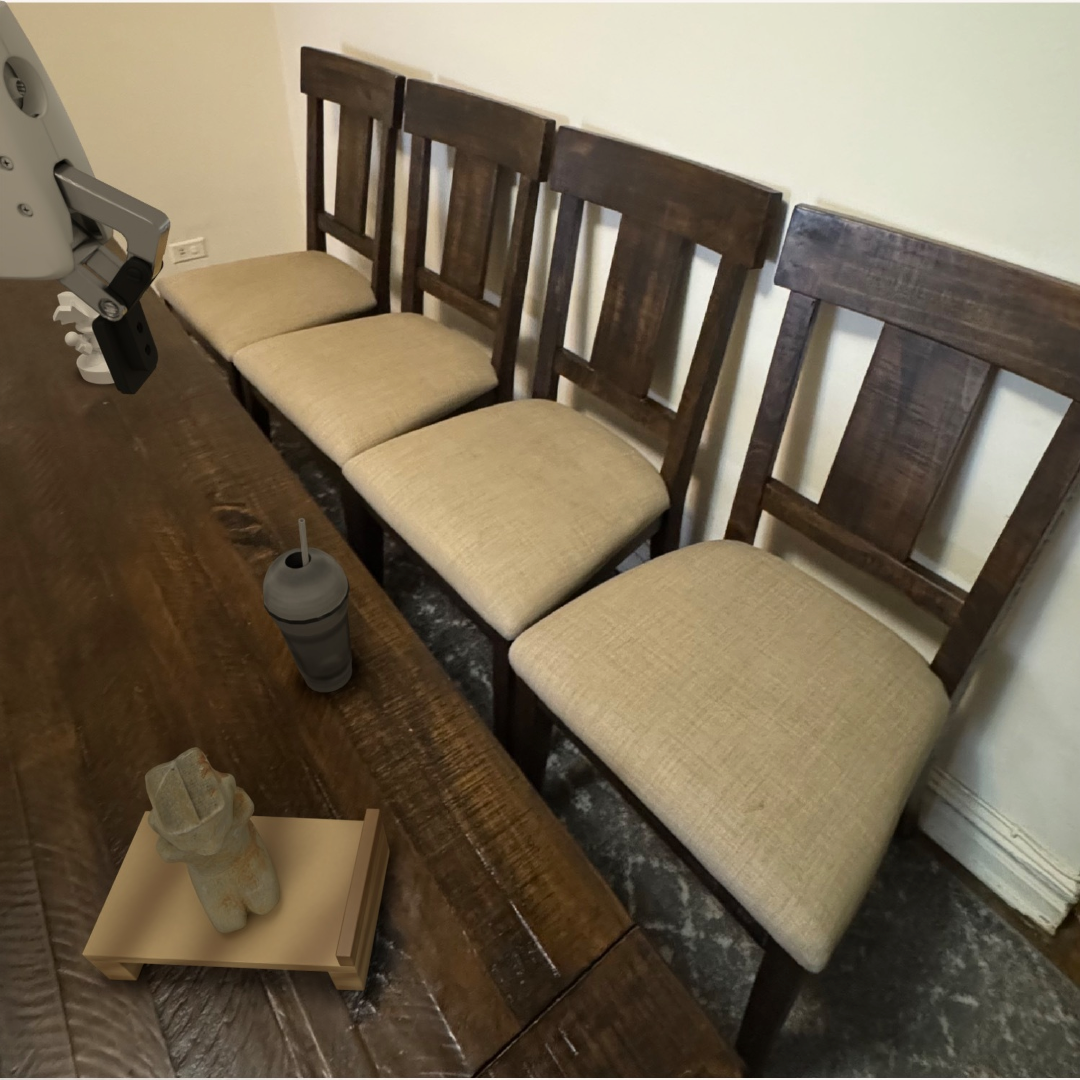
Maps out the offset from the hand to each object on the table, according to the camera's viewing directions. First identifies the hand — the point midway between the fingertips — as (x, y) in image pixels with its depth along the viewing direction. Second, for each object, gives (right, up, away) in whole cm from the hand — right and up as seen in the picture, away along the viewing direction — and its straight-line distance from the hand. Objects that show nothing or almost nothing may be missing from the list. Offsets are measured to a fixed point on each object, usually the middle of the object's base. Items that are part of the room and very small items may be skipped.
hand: (46, 376), depth 38 cm
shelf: (+4, -36, +17) cm, 41 cm away
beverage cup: (+5, -22, +34) cm, 40 cm away
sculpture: (+4, -33, +14) cm, 36 cm away
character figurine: (-38, +17, +73) cm, 84 cm away
